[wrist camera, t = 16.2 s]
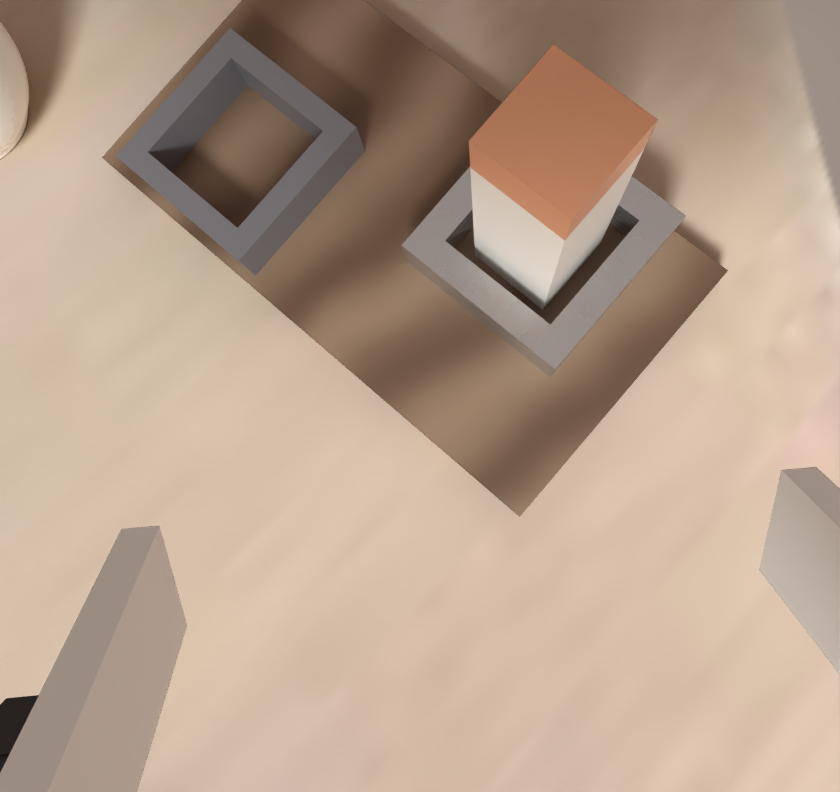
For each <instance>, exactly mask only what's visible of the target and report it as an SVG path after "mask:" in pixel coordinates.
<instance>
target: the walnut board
mask: <svg viewBox="0 0 840 792" xmlns="http://www.w3.org/2000/svg"><path fill="white" fill-rule="evenodd" d="M229 28H231V29H232V30H233V31H235V32H236V33H237V34H238V35H240V36H241V37H242V38H243V39H245V40H246V41H247V42H249V43H250V44H251V45H252V46H254V47H255V48H256V49H258V50H259V51H260V52H261V53H263V54H264V55H265V56H266V57H268V58H269V59H270V60H272V61H273V62H274V63H275V64H277V65H278V66H279V67H281V68H282V69H283V70H284V71H286V72H287V73H288V74H289V75H291V76H292V77H293V78H295V79H296V80H297V81H298V82H300V83H301V84H302V85H303V86H305V87H306V88H307V89H309V90H310V91H311V92H312V93H314V94H315V95H316V96H318V97H319V98H320V99H321V100H323V101H324V102H325V103H326V104H328V105H329V106H330V107H332V108H333V109H334V110H335V111H337V112H338V113H339V114H341V115H342V116H343V117H344V118H346V119H347V120H348V121H349V122H351V123H352V124H353V125H355V126H356V127H357V130H358V133H359V135H360V138H361V141H362V144H363V146H364V149H365V152H364V153H363V154H362V155H361V156H360V157H359V158H358V160H357V161H356V162H355V163H354V164H353V165H352V166H351V168H350V169H349V170H348V171H347V172H346V173H345V174H344V176H343V177H342V178H341V179H340V180H339V181H338V182H337V184H336V185H335V186H334V187H333V188H332V189H331V190H330V192H329V193H328V194H327V195H326V196H325V197H324V198H323V200H322V201H321V202H320V203H319V204H318V205H317V206H316V208H315V209H314V210H313V211H312V212H311V213H310V214H309V216H308V217H307V218H306V219H305V220H304V221H303V222H302V224H301V225H300V226H299V227H298V228H297V229H296V230H295V232H294V233H293V234H292V235H291V236H290V237H289V238H288V240H287V241H286V242H285V243H284V244H283V245H282V246H281V248H280V249H279V250H278V251H277V252H276V253H275V254H274V255H273V257H272V258H271V259H270V260H269V261H268V262H267V263H266V265H265V266H264V267H263V268H262V269H261V270H260V271H259V273H258V274H257V275H256V276H255V275H254V274H253V273H252V272H250V271H249V270H248V269H247V268H246V267H245V266H243V265H242V264H241V263H240V262H239V261H238V260H236V259H235V258H234V257H233V256H232V255H231V254H229V253H228V252H227V251H226V250H225V249H224V248H222V247H221V246H220V245H219V244H218V243H217V242H215V241H214V240H213V239H212V238H211V237H210V236H208V235H207V234H206V233H205V232H204V231H203V230H201V229H200V228H199V227H198V226H197V225H196V224H194V223H193V222H192V221H191V220H190V219H189V218H187V217H186V216H185V215H184V214H183V213H182V212H180V211H179V210H178V209H177V208H176V207H175V206H173V205H172V204H171V203H170V202H169V201H167V200H166V199H165V198H164V197H163V196H162V195H160V194H159V193H158V192H157V191H156V190H155V189H153V188H152V187H151V186H150V185H149V184H148V183H146V182H145V181H144V180H143V179H142V178H141V177H139V176H138V175H137V174H136V173H135V172H134V171H133V170H132V169H130V168H129V167H128V166H127V165H126V164H125V163H124V162H123V161H121V160H120V159H119V158H118V157H117V156H116V155H117V154H118V153H119V152H120V151H121V149H122V148H123V147H124V146H125V145H126V144H127V143H128V142H129V141H130V139H131V138H132V137H133V136H134V135H135V134H136V133H137V132H138V130H139V129H140V128H141V127H142V126H143V125H144V124H145V123H146V121H147V120H148V119H149V118H150V117H151V116H152V115H153V114H154V113H155V111H156V110H157V109H158V108H159V107H160V106H161V105H162V104H163V102H164V101H165V100H166V99H167V98H168V97H169V96H170V95H171V93H172V92H173V91H174V90H175V89H176V88H177V87H178V86H179V85H180V83H181V82H182V81H183V80H184V79H185V78H186V77H187V76H188V74H189V73H190V72H191V71H192V70H193V69H194V68H195V67H196V65H197V64H198V63H199V62H200V61H201V60H202V59H203V58H204V56H205V55H206V54H207V53H208V52H209V51H210V50H211V49H212V48H213V46H214V45H215V44H216V43H217V42H218V41H219V40H220V39H221V37H222V36H223V35H224V34H225V33H226V32H227V31H228V30H229ZM501 104H502V102H500V101H499V100H498V99H496V98H495V97H494V96H492V95H491V94H489V93H488V92H487V91H485V90H484V89H483V88H481V87H480V86H479V85H477V84H476V83H475V82H473V81H472V80H471V79H469V78H468V77H467V76H465V75H464V74H463V73H461V72H460V71H459V70H457V69H456V68H454V67H453V66H452V65H450V64H449V63H448V62H446V61H445V60H444V59H442V58H441V57H440V56H438V55H437V54H436V53H434V52H433V51H432V50H430V49H429V48H428V47H426V46H425V45H424V44H422V43H421V42H419V41H418V40H417V39H415V38H414V37H413V36H411V35H410V34H409V33H407V32H406V31H405V30H403V29H402V28H401V27H399V26H398V25H397V24H395V23H394V22H393V21H391V20H390V19H388V18H387V17H386V16H384V15H383V14H382V13H380V12H379V11H378V10H376V9H375V8H374V7H372V6H371V5H370V4H368V3H367V2H366V1H364V0H242V1H241V2H240V4H239V5H238V6H237V7H236V8H235V9H234V10H233V11H232V13H231V14H230V15H229V16H228V17H227V18H226V19H225V20H224V21H223V23H222V24H221V25H220V26H219V27H218V28H217V29H216V30H215V32H214V33H213V34H212V35H211V36H210V37H209V38H208V39H207V41H206V42H205V43H204V44H203V45H202V46H201V47H200V48H199V49H198V51H197V52H196V53H195V54H194V55H193V56H192V57H191V58H190V60H189V61H188V62H187V63H186V64H185V65H184V66H183V67H182V68H181V70H180V71H179V72H178V73H177V74H176V75H175V76H174V77H173V79H172V80H171V81H170V82H169V83H168V84H167V85H166V86H165V88H164V89H163V90H162V91H161V92H160V93H159V94H158V95H157V96H156V98H155V99H154V100H153V101H152V102H151V103H150V104H149V105H148V107H147V108H146V109H145V110H144V111H143V112H142V113H141V114H140V116H139V117H138V118H137V119H136V120H135V121H134V122H133V123H132V124H131V126H130V127H129V128H128V129H127V130H126V131H125V132H124V133H123V135H122V136H121V137H120V138H119V139H118V140H117V141H116V142H115V143H114V145H113V146H112V147H111V148H110V149H109V150H108V151H107V152H106V154H105V155H104V156H103V157H102V158H103V159H104V160H106V161H107V162H108V163H109V164H110V165H111V166H113V167H114V168H115V169H116V170H117V171H118V172H119V173H121V174H122V175H123V176H124V177H125V178H126V179H128V180H129V181H130V182H131V183H132V184H133V185H135V186H136V187H137V188H138V189H139V190H140V191H142V192H143V193H144V194H145V195H146V196H147V197H149V198H150V199H151V200H152V201H153V202H154V203H156V204H157V205H158V206H159V207H160V208H161V209H163V210H164V211H165V212H166V213H167V214H168V215H169V216H171V217H172V218H173V219H174V220H175V221H176V222H178V223H179V224H180V225H181V226H182V227H183V228H185V229H186V230H187V231H188V232H189V233H190V234H192V235H193V236H194V237H195V238H196V239H197V240H199V241H200V242H201V243H202V244H203V245H204V246H206V247H207V248H208V249H209V250H210V251H211V252H213V253H214V254H215V255H216V256H217V257H218V258H219V259H221V260H222V261H223V262H224V263H225V264H226V265H228V266H229V267H230V268H231V269H232V270H233V271H235V272H236V273H237V274H238V275H239V276H240V277H242V278H243V279H244V280H245V281H246V282H247V283H249V284H250V285H251V286H252V287H253V288H254V289H256V290H257V291H258V292H259V293H260V294H261V295H263V296H264V297H265V298H266V299H267V300H268V301H269V302H271V303H272V304H273V305H274V306H275V307H276V308H278V309H279V310H280V311H281V312H282V313H283V314H285V315H286V316H287V317H288V318H289V319H290V320H292V321H293V322H294V323H295V324H296V325H297V326H299V327H300V328H301V329H302V330H303V331H304V332H306V333H307V334H308V335H309V336H310V337H311V338H313V339H314V340H315V341H316V342H317V343H318V344H319V345H321V346H322V347H323V348H324V349H325V350H326V351H328V352H329V353H330V354H331V355H332V356H333V357H335V358H336V359H337V360H338V361H339V362H340V363H342V364H343V365H344V366H345V367H346V368H347V369H349V370H350V371H351V372H352V373H353V374H354V375H356V376H357V377H358V378H359V379H360V380H361V381H363V382H364V383H365V384H366V385H367V386H368V387H369V388H371V389H372V390H373V391H374V392H375V393H376V394H378V395H379V396H380V397H381V398H382V399H383V400H385V401H386V402H387V403H388V404H389V405H390V406H392V407H393V408H394V409H395V410H396V411H397V412H399V413H400V414H401V415H402V416H403V417H404V418H406V419H407V420H408V421H409V422H410V423H411V424H413V425H414V426H415V427H416V428H417V429H418V430H419V431H421V432H422V433H423V434H424V435H425V436H426V437H428V438H429V439H430V440H431V441H432V442H433V443H435V444H436V445H437V446H438V447H439V448H440V449H442V450H443V451H444V452H445V453H446V454H447V455H449V456H450V457H451V458H452V459H453V460H454V461H456V462H457V463H458V464H459V465H460V466H461V467H463V468H464V469H465V470H466V471H467V472H468V473H469V474H471V475H472V476H473V477H474V478H475V479H476V480H478V481H479V482H480V483H481V484H482V485H483V486H485V487H486V488H487V489H488V490H489V491H490V492H492V493H493V494H494V495H495V496H496V497H497V498H499V499H500V500H501V501H502V502H503V503H504V504H506V505H507V506H508V507H509V508H510V509H511V510H513V511H514V512H515V513H516V514H517V515H518V516H519V517H520V516H521V515H522V513H523V512H524V511H525V510H526V509H527V507H528V506H529V505H530V504H531V503H532V502H533V500H534V499H535V498H536V497H537V496H538V494H539V493H540V492H541V491H542V490H543V489H544V487H545V486H546V485H547V484H548V483H549V481H550V480H551V479H552V478H553V477H554V476H555V474H556V473H557V472H558V471H559V470H560V468H561V467H562V466H563V465H564V464H565V463H566V461H567V460H568V459H569V458H570V457H571V455H572V454H573V453H574V452H575V451H576V450H577V448H578V447H579V446H580V445H581V444H582V442H583V441H584V440H585V439H586V438H587V437H588V435H589V434H590V433H591V432H592V431H593V429H594V428H595V427H596V426H597V425H598V424H599V422H600V421H601V420H602V419H603V418H604V416H605V415H606V414H607V413H608V412H609V411H610V409H611V408H612V407H613V406H614V405H615V403H616V402H617V401H618V400H619V399H620V397H621V396H622V395H623V394H624V393H625V392H626V390H627V389H628V388H629V387H630V386H631V384H632V383H633V382H634V381H635V380H636V379H637V377H638V376H639V375H640V374H641V373H642V371H643V370H644V369H645V368H646V367H647V366H648V364H649V363H650V362H651V361H652V360H653V358H654V357H655V356H656V355H657V354H658V353H659V351H660V350H661V349H662V348H663V347H664V345H665V344H666V343H667V342H668V341H669V340H670V338H671V337H672V336H673V335H674V334H675V332H676V331H677V330H678V329H679V328H680V327H681V325H682V324H683V323H684V322H685V321H686V319H687V318H688V317H689V316H690V315H691V314H692V312H693V311H694V310H695V309H696V308H697V306H698V305H699V304H700V303H701V302H702V301H703V299H704V298H705V297H706V296H707V295H708V293H709V292H710V291H711V290H712V289H713V288H714V286H715V285H716V284H717V283H718V282H719V280H720V279H721V278H722V277H723V276H724V275H725V273H726V272H727V271H728V270H726V269H725V268H724V267H722V266H721V265H720V264H718V263H717V262H716V261H714V260H713V259H712V258H710V257H709V256H708V255H706V254H705V253H704V252H702V251H701V250H700V249H698V248H697V247H695V246H694V245H693V244H691V243H690V242H689V241H687V240H686V239H685V238H683V237H682V236H681V235H679V234H678V233H677V232H675V231H674V232H673V234H672V235H671V236H670V237H669V239H668V240H667V241H666V242H665V243H664V244H663V246H662V247H661V248H660V249H659V250H658V251H657V253H656V254H655V255H654V256H653V257H652V259H651V260H650V261H649V262H648V263H647V264H646V266H645V267H644V268H643V269H642V270H641V271H640V273H639V274H638V275H637V276H636V277H635V279H634V280H633V281H632V282H631V283H630V284H629V286H628V287H627V288H626V289H625V290H624V291H623V293H622V294H621V295H620V296H619V297H618V298H617V300H616V301H615V302H614V303H613V304H612V306H611V307H610V308H609V309H608V310H607V311H606V313H605V314H604V315H603V316H602V317H601V318H600V320H599V321H598V322H597V323H596V324H595V325H594V327H593V328H592V329H591V330H590V331H589V333H588V334H587V335H586V336H585V337H584V338H583V340H582V341H581V342H580V343H579V344H578V345H577V347H576V348H575V349H574V350H573V351H572V353H571V354H570V355H569V356H568V357H567V358H566V360H565V361H564V362H563V363H562V364H561V365H560V367H559V368H558V369H557V370H556V371H555V372H554V374H553V375H552V376H551V377H549V376H548V375H546V374H545V373H544V372H543V371H541V370H540V369H539V368H538V367H536V366H535V365H534V364H533V363H532V362H530V361H529V360H528V359H527V358H525V357H524V356H523V355H522V354H520V353H519V352H518V351H517V350H515V349H514V348H513V347H512V346H511V345H509V344H508V343H507V342H506V341H504V340H503V339H502V338H501V337H499V336H498V335H497V334H496V333H495V332H493V331H492V330H491V329H490V328H488V327H487V326H486V325H485V324H483V323H482V322H481V321H480V320H479V319H477V318H476V317H475V316H474V315H472V314H471V313H470V312H469V311H467V310H466V309H465V308H464V307H463V306H461V305H460V304H459V303H458V302H456V301H455V300H454V299H453V298H451V297H450V296H449V295H448V294H447V293H445V292H444V291H443V290H442V289H440V288H439V287H438V286H437V285H435V284H434V283H433V282H432V281H431V280H429V279H428V278H427V277H426V276H424V275H423V274H422V273H421V272H419V271H418V270H417V269H416V268H415V267H413V266H412V265H411V264H410V263H408V262H407V259H406V256H405V254H404V251H403V248H402V244H403V243H404V242H405V241H406V240H407V238H408V237H409V236H410V235H411V234H412V233H413V231H414V230H415V229H416V228H417V227H418V226H419V225H420V223H421V222H422V221H423V220H424V219H425V218H426V216H427V215H428V214H429V213H430V212H431V211H432V210H433V208H434V207H435V206H436V205H437V204H438V203H439V202H440V200H441V199H442V198H443V197H444V196H445V195H446V193H447V192H448V191H449V190H450V189H451V188H452V187H453V185H454V184H455V183H456V182H457V181H458V180H459V178H460V177H461V176H462V175H463V174H464V173H465V172H466V170H467V169H468V168H469V167H470V154H469V140H470V139H471V138H472V137H473V136H474V134H475V133H476V132H477V131H478V130H479V129H480V128H481V126H482V125H483V124H484V123H485V122H486V121H487V120H488V118H489V117H490V116H491V115H492V114H493V113H494V112H495V111H496V109H497V108H498V107H499V106H500V105H501ZM314 141H315V139H314V138H313V137H311V136H310V135H309V134H308V133H306V132H305V131H304V130H303V129H301V128H300V127H299V126H298V125H296V124H295V123H294V122H293V121H291V120H290V119H289V118H288V117H286V116H285V115H284V114H283V113H281V112H280V111H279V110H278V109H276V108H275V107H274V106H273V105H271V104H270V103H269V102H268V101H266V100H265V99H264V98H263V97H261V96H260V95H259V94H258V93H256V92H255V91H254V90H253V89H251V88H250V87H249V86H247V87H246V88H245V89H244V91H243V92H242V93H241V94H240V95H239V96H238V97H237V98H236V100H235V101H234V102H233V103H232V104H231V105H230V106H229V107H228V109H227V110H226V111H225V112H224V113H223V114H222V115H221V116H220V118H219V119H218V120H217V121H216V122H215V123H214V124H213V125H212V127H211V128H210V129H209V130H208V131H207V132H206V133H205V134H204V136H203V137H202V138H201V139H200V140H199V141H198V142H197V143H196V145H195V146H194V147H193V148H192V149H191V150H190V151H189V152H188V154H187V155H186V156H185V157H184V158H183V159H182V160H181V162H180V163H179V164H178V165H177V166H176V167H175V168H174V169H173V171H172V173H173V174H174V175H175V176H177V177H178V178H179V179H180V180H181V181H183V182H184V183H185V184H186V185H187V186H188V187H190V188H191V189H192V190H193V191H194V192H196V193H197V194H198V195H199V196H200V197H201V198H203V199H204V200H205V201H206V202H207V203H209V204H210V205H211V206H212V207H213V208H214V209H216V210H217V211H218V212H219V213H220V214H222V215H223V216H224V217H225V218H226V219H227V220H229V221H230V222H231V223H232V224H233V225H235V226H236V227H237V228H238V227H239V226H240V225H241V224H242V222H243V221H244V220H245V219H246V218H247V217H248V216H249V215H250V213H251V212H252V211H253V210H254V209H255V208H256V207H257V205H258V204H259V203H260V202H261V201H262V200H263V199H264V197H265V196H266V195H267V194H268V193H269V192H270V191H271V190H272V188H273V187H274V186H275V185H276V184H277V183H278V182H279V180H280V179H281V178H282V177H283V176H284V175H285V174H286V172H287V171H288V170H289V169H290V168H291V167H292V166H293V165H294V163H295V162H296V161H297V160H298V159H299V158H300V157H301V155H302V154H303V153H304V152H305V151H306V150H307V149H308V147H309V146H310V145H311V144H312V143H313V142H314ZM624 238H625V236H624V235H622V234H621V233H620V232H619V231H617V230H616V229H615V228H613V227H612V226H611V225H609V226H608V228H607V230H606V232H605V234H604V236H603V238H602V241H601V243H600V244H599V245H598V246H597V248H596V249H595V250H594V251H593V252H592V253H591V255H590V256H589V257H588V258H587V259H586V260H585V262H584V263H583V264H582V265H581V266H580V267H579V269H578V270H577V271H576V272H575V273H574V274H573V275H572V277H571V278H570V279H569V280H568V281H567V282H566V284H565V285H564V286H563V287H562V288H561V289H560V291H559V292H558V293H557V294H556V295H555V296H554V297H553V299H552V300H551V301H550V302H549V303H548V304H547V306H546V307H545V308H544V309H543V310H542V309H541V308H540V307H539V306H537V305H536V304H535V303H534V302H532V301H531V300H530V299H529V298H527V297H526V296H525V295H524V294H522V293H521V292H520V291H519V290H517V289H516V288H515V287H514V286H512V285H511V284H510V283H509V282H507V281H506V280H505V279H504V278H502V277H501V276H500V275H499V274H497V273H496V272H495V271H494V270H492V269H491V268H490V267H489V266H487V265H486V264H485V263H484V262H482V261H481V260H480V259H479V258H477V257H476V256H475V246H474V228H473V229H472V230H471V232H470V233H469V234H468V235H467V236H466V237H465V239H464V240H463V241H462V242H461V243H460V244H459V245H458V247H457V248H456V250H457V251H459V252H460V253H461V254H462V255H464V256H465V257H466V258H467V259H469V260H470V261H471V262H472V263H474V264H475V265H476V266H477V267H479V268H480V269H481V270H482V271H484V272H485V273H486V274H487V275H489V276H490V277H491V278H492V279H494V280H495V281H496V282H498V283H499V284H500V285H501V286H503V287H504V288H505V289H506V290H508V291H509V292H510V293H511V294H513V295H514V296H515V297H516V298H518V299H519V300H520V301H521V302H523V303H524V304H525V305H526V306H528V307H529V308H530V309H531V310H533V311H534V312H535V313H536V314H538V315H539V316H540V317H541V318H543V319H544V320H545V321H546V322H548V323H549V324H550V325H551V324H552V322H553V321H554V320H555V319H556V318H557V317H558V315H559V314H560V313H561V312H562V311H563V310H564V308H565V307H566V306H567V305H568V304H569V303H570V301H571V300H572V299H573V298H574V297H575V295H576V294H577V293H578V292H579V291H580V290H581V288H582V287H583V286H584V285H585V284H586V283H587V281H588V280H589V279H590V278H591V277H592V276H593V274H594V273H595V272H596V271H597V270H598V269H599V267H600V266H601V265H602V264H603V263H604V262H605V260H606V259H607V258H608V257H609V256H610V255H611V253H612V252H613V251H614V250H615V249H616V247H617V246H618V245H619V244H620V243H621V242H622V240H623V239H624Z"/></svg>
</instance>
